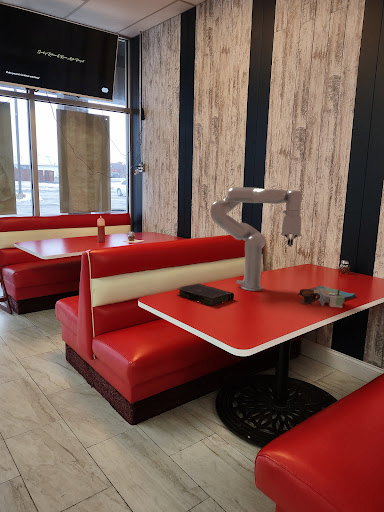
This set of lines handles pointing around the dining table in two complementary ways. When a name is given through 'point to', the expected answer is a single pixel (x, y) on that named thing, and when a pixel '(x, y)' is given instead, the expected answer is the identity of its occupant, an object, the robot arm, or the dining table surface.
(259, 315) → the dining table surface
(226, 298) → the diary
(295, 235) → the robot arm
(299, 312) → the dining table surface
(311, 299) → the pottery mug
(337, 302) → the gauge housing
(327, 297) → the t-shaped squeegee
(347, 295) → the dish towel
